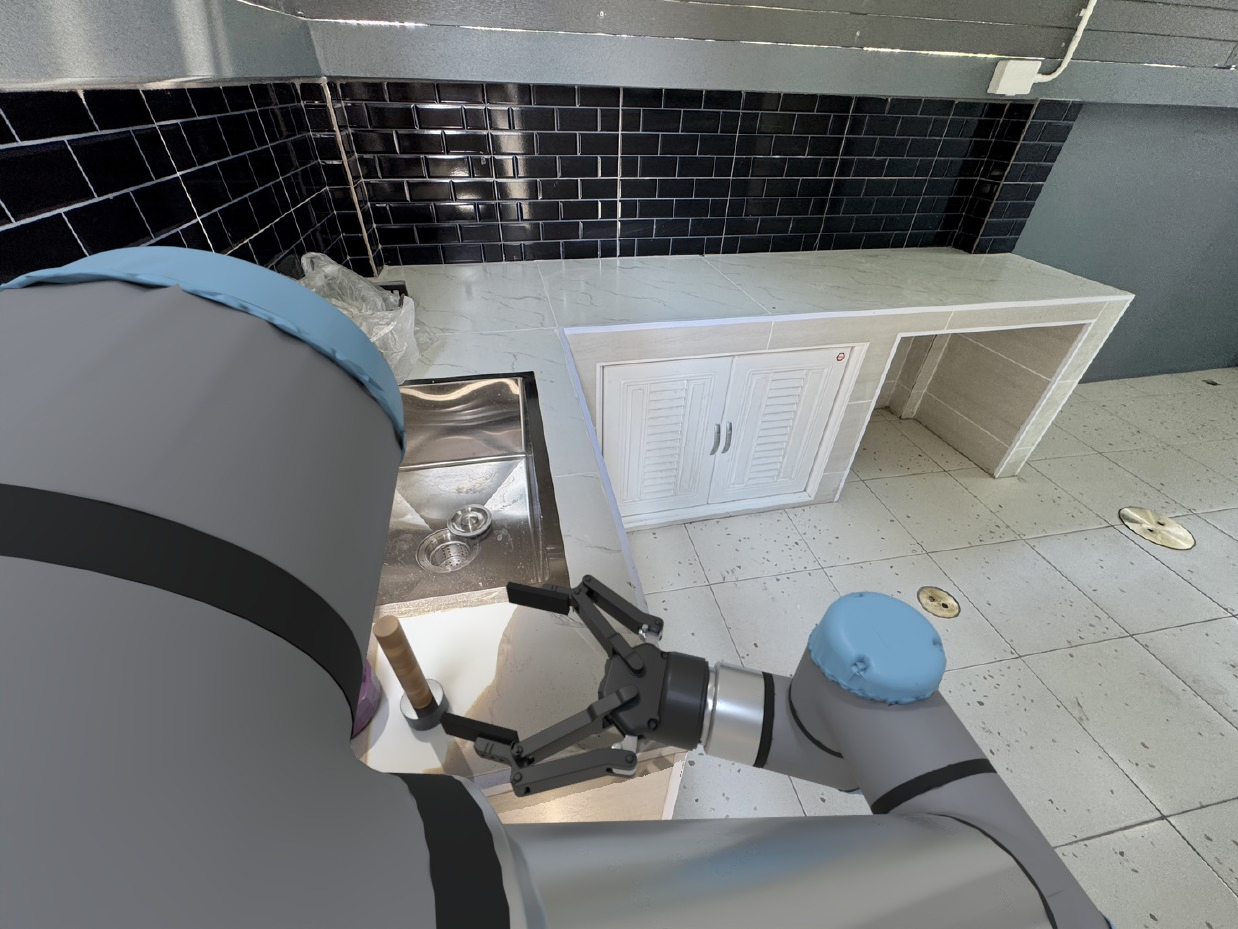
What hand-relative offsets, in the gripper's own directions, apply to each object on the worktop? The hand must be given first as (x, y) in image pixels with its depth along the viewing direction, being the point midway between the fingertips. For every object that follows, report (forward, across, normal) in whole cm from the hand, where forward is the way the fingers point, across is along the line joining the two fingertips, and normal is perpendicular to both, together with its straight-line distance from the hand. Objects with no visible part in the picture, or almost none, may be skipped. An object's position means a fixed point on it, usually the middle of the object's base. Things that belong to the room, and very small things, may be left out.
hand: (479, 650), depth 48 cm
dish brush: (+10, 0, -17) cm, 20 cm away
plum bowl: (+21, -2, -17) cm, 27 cm away
